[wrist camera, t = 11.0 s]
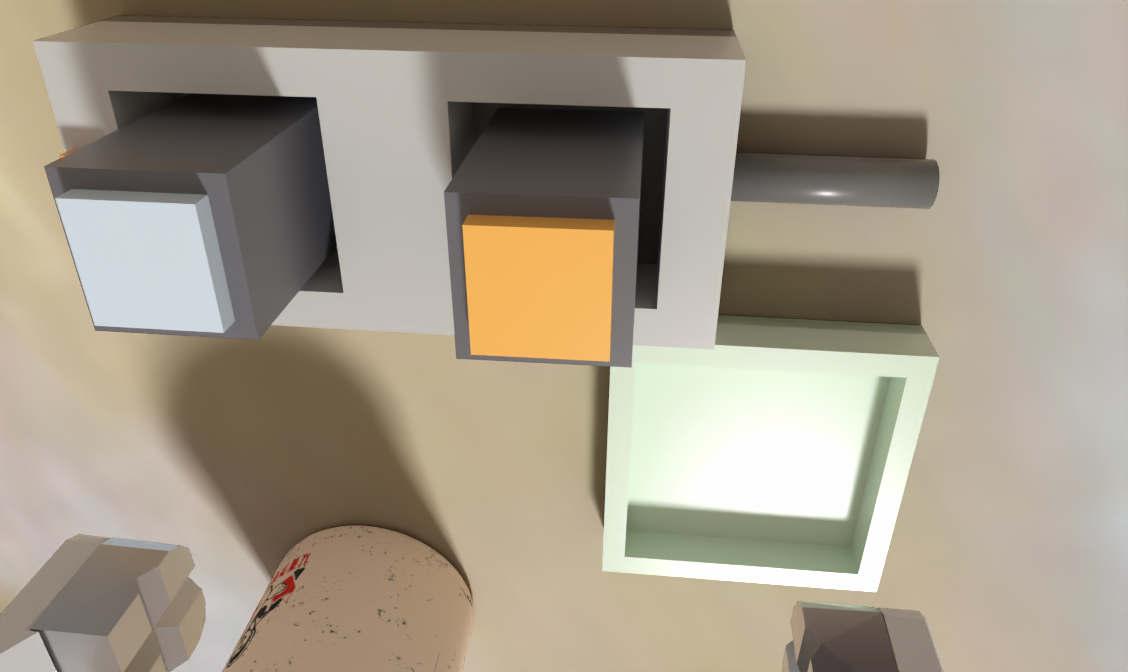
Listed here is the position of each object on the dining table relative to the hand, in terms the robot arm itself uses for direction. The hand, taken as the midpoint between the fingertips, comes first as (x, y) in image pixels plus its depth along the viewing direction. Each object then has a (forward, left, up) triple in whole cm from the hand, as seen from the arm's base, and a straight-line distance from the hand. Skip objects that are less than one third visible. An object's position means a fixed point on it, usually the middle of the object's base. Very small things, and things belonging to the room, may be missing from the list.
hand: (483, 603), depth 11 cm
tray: (-6, +10, -17) cm, 20 cm away
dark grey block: (+9, 0, -16) cm, 19 cm away
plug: (0, 0, -16) cm, 16 cm away
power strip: (+2, -1, -17) cm, 17 cm away
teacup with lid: (+9, +21, -17) cm, 28 cm away
